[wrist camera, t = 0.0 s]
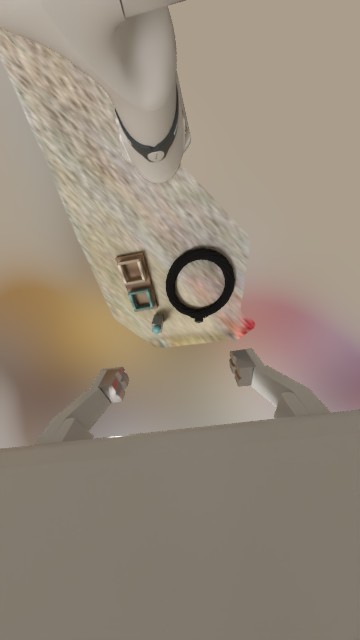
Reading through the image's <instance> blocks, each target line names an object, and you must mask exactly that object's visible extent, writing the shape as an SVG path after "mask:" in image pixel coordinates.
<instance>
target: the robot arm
mask: <svg viewBox="0 0 360 640" xmlns="http://www.w3.org/2000/svg"><path fill="white" fill-rule="evenodd" d="M181 1H185V0H0V27H1V28H2V29H4V30H5V31H7V32H10V33H13V34H16V35H19V36H21V37H24V38H27V39H29V40H32V41H34V42H37V43H39V44H41V45H43V46H45V47H47V48H49V49H51V50H53V51H54V52H56V53H58V54H59V55H61V56H62V57H64V58H65V59H67V60H68V61H70V62H71V63H73V64H74V65H75V66H77V67H78V68H79V69H81V70H82V71H83V72H84V73H86V74H87V75H88V76H89V77H90V78H92V79H93V80H94V81H95V82H96V83H97V84H98V85H100V86H101V87H102V88H103V89H104V90H105V92H106V93H107V94H108V96H109V98H110V100H111V101H112V104H113V105H114V107H115V111H116V115H115V121H116V124H117V126H118V132H119V140H120V148H121V154H122V156H123V158H124V159H125V160H126V161H127V162H128V163H130V164H132V165H133V166H134V167H135V168H136V169H137V171H138V172H139V173H140V174H141V175H142V176H143V177H144V178H145V179H146V180H148V181H150V182H153V183H163V182H166V181H168V180H169V179H170V178H171V177H172V176H173V175H174V174H175V173H176V171H177V169H178V167H179V165H180V161H181V158H182V155H183V153H184V152H185V151H186V149H187V148H188V146H189V144H190V132H189V127H188V123H187V118H186V113H185V109H184V104H183V99H182V95H181V90H180V85H179V81H178V76H177V71H176V42H175V35H174V29H173V24H172V21H171V16H170V13H169V10H168V7H167V6H168V5H171V4H174V3H178V2H181ZM185 131H186V134H185ZM230 357H231V358H230V360H229V361H230V368H231V371H232V373H234V374H235V380H236V382H237V384H238V386H248V385H251V386H252V387H253V388H254V389H255V390H257V391H258V392H259V393H260V394H261V395H262V396H264V397H265V398H266V399H267V400H268V401H270V402H271V403H272V404H273V405H274V406H275V407H277V409H276V411H275V414H274V419H269V420H260V421H251V422H242V423H232V424H224V425H214V426H205V427H195V428H186V429H177V430H167V431H158V432H150V433H140V434H131V435H122V436H114V437H103V438H94V439H93V437H94V436H93V434H92V433H90V432H89V430H90V429H91V427H92V426H93V425H94V424H95V423H96V421H97V420H98V419H99V418H100V416H101V415H102V414H103V413H104V412H105V410H106V409H107V408H108V407H109V406H110V404H111V403H112V402H119V401H122V400H123V398H124V395H125V390H124V389H125V388H126V387H127V386H128V382H129V378H128V375H127V374H126V373H125V372H124V370H125V369H124V368H123V367H116V368H108V369H102V370H101V371H100V373H99V375H98V377H97V378H96V380H95V382H94V383H93V385H92V387H91V389H88V390H87V391H85V392H84V393H83V394H82V395H81V396H79V397H78V398H77V399H76V400H75V401H74V402H72V403H71V404H70V405H69V406H67V407H66V408H65V409H64V410H63V411H61V412H60V413H59V414H58V415H57V416H56V417H54V418H53V419H52V420H51V422H50V423H49V424H48V426H47V427H46V429H45V430H44V431H43V433H42V434H41V436H40V437H39V439H38V440H37V441H36V443H35V444H34V445H30V446H22V447H12V448H2V449H0V640H360V410H351V411H342V412H333V413H331V412H330V411H329V410H328V409H327V407H326V406H325V405H324V404H323V403H322V402H321V401H320V400H319V399H318V398H317V396H316V395H315V394H314V393H313V392H312V391H311V390H310V389H309V388H307V387H305V386H303V385H302V384H300V383H298V382H296V381H294V380H292V379H290V378H289V377H287V376H285V375H283V374H282V373H280V372H278V371H276V370H274V369H272V368H271V367H269V366H265V365H264V364H263V363H262V361H261V360H260V358H259V357H258V356H257V354H256V353H255V352H254V350H253V349H251V348H250V349H243V350H236V351H230Z"/></svg>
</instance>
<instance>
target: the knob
mask: <svg viewBox="0 0 360 640" xmlns="http://www.w3.org/2000/svg"><path fill="white" fill-rule="evenodd" d="M162 327H163V315H154V318H153V322H152V332H154V333H155V334H158V333H159V332H162Z"/></svg>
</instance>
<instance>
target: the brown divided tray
mask: <svg viewBox="0 0 360 640" xmlns="http://www.w3.org/2000/svg"><path fill="white" fill-rule="evenodd" d="M115 259H116V261H117V265H118V268H119V271H120V273H121V276H122V279H123V281H124V284H125V286H126V288H127V291H128V295H129V297H130V300H131V303H132V305H133V308H134V311H135V312H138V311H144V310H150V309H156V308H158V305H157V302H156V298H155V294H154V291H153V287H152V283H151V280H150V276H149V272H148V269H147V265H146V261H145V258H144V254H143V253H138V254H132V255H127V256H122V257H117V258H115Z"/></svg>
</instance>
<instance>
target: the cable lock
mask: <svg viewBox="0 0 360 640" xmlns="http://www.w3.org/2000/svg"><path fill="white" fill-rule="evenodd" d="M200 259H202V260H209V261H211V262H214V263H215V264H217V265H218V266H219V267H220V268H221V270H222V271H223V274H224V277H225V288H224V290H223V293H222V295H221V297H220V298H219V299H218V300H217V302H215V303H214V304H213V305H211V306H209V307H207V308H204V309H192V308H188V307H186V306H185V305H183V304H182V303H181V302H180V301H179V299H178V297H177V296H176V293H175V280H176V277H177V275H178V273H179V272H180V271H181V269H182V268H183V267H184V266H185V265H187V264H188V263H190V262H192V261H195V260H200ZM234 281H235V279H234V274H233V268H232V266H231V264H230V263H229V261H228V260H227V259H226V258H225V257H224V256H223V255H222V254H220V253H218V252H217V251H214V250H211V249H205V248H201V249H195V250H191V251H188V252H186V253H184V254H183V255H182V256H180V257H179V258H178V259H177V260H176V261H175V262H174V263H173V265H172V266H171V268H170V270H169V272H168V275H167V279H166V292H167V296H168V298H169V301H170V302H171V304H172V305H173V306H174V307H175V308H176V309H177V310H178V311H179V312H180V313H183V314H185V315H188V316H190V317H191V318H194V319H195V322H197V323H201V322H203V318H206V317H207V316H208V315H211V314H213V313H215V312H217V311H218V310H219V309H221V308H222V307H223V306H224V305H225V304H226V303H227V302H228V300H229V298H230V297H231V294H232V292H233V289H234ZM205 316H206V317H205Z"/></svg>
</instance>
